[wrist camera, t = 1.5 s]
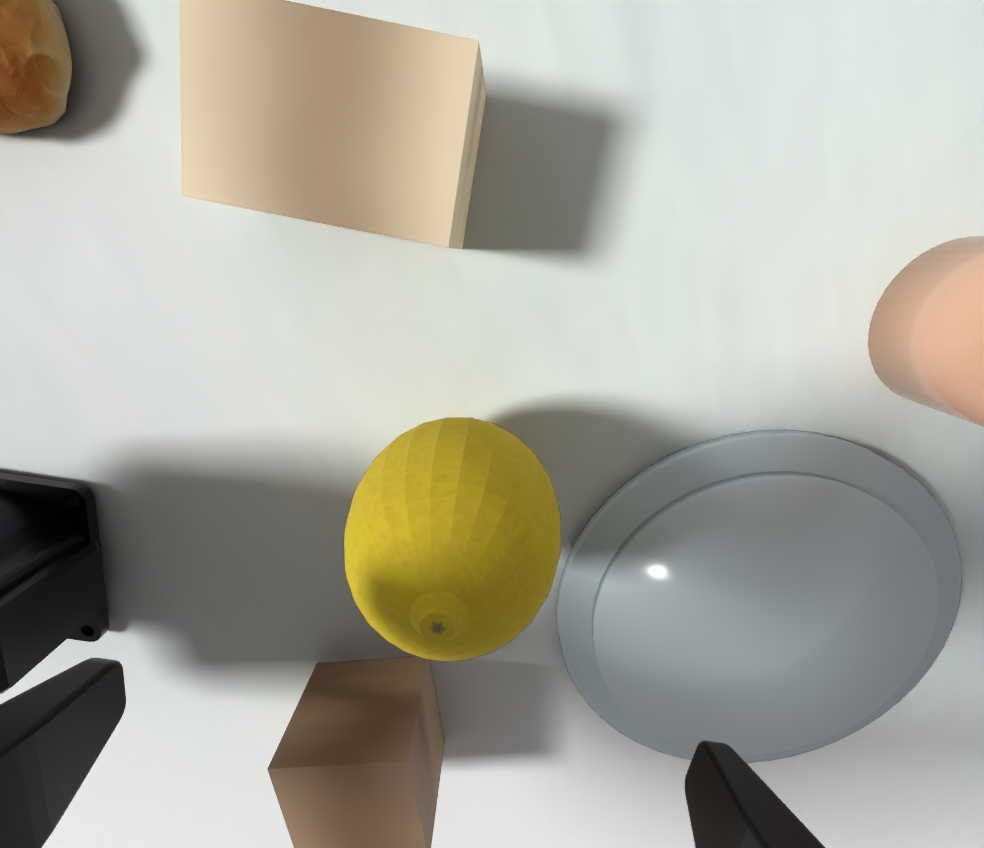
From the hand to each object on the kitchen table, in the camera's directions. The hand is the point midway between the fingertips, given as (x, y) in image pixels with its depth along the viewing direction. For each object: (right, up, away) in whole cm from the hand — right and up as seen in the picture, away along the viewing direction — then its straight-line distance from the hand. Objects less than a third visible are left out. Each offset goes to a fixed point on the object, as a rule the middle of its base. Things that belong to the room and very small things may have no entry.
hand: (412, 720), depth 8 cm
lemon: (0, +3, +10) cm, 10 cm away
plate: (+11, -2, +11) cm, 15 cm away
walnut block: (-3, -7, +13) cm, 15 cm away
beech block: (-2, +12, +7) cm, 14 cm away
